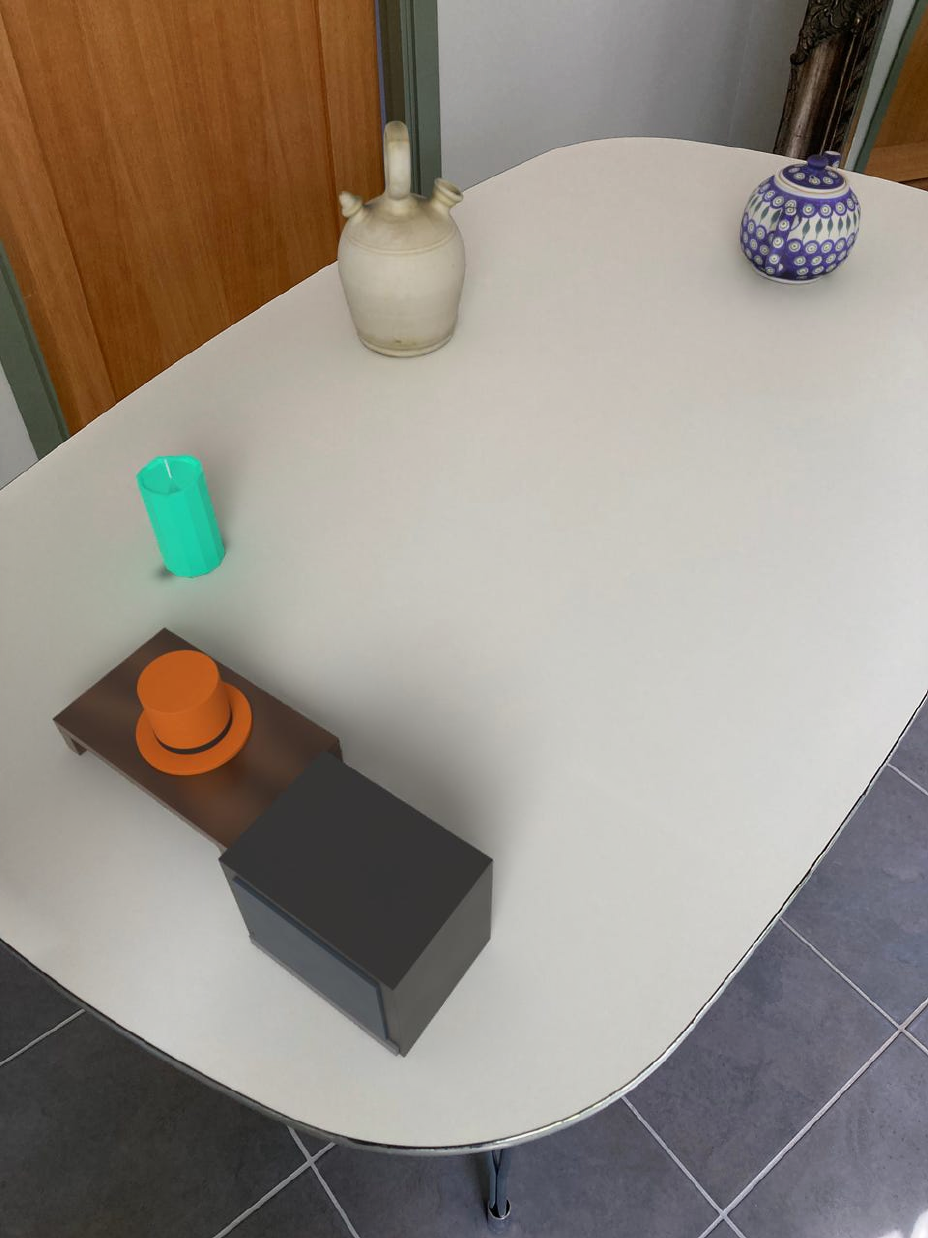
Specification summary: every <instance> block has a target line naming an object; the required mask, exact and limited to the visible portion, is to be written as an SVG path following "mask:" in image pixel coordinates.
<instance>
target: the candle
mask: <svg viewBox="0 0 928 1238" xmlns="http://www.w3.org/2000/svg"><path fill="white" fill-rule="evenodd" d="M135 477H136V482H137V486H138V490H139V493H140V495H141V498H142V502H143V505H144V507H145V510H146V513H147V516H148V519H149V522H150V524H151V527H152V531H153V533H154V537H155V540H156V543H157V545H158V548H159V551H160V553H161V557H162V560H163V563H164V566H165V568H166V569H167V570H168V571H169V572H171V573H173V575H175V576H178V577H185V578H195V577H199V576H202V575H203V576H204V575H207V574H210V572H212V571H213V570H214V569H216V568H217V567H219V566H220V565H221V563H222V562H223V559H224V558H225V555H226V551H225V547H224V543H223V540H222V539H223V538H222V536H221V532H220V528H219V524H218V521H217V518H216V514H215V509H214V507H213V506H214V505H213V502H212V499H211V495H210V491H209V488H208V484H207V480H206V477H205V473H204V470H203V466H202V463H201V460H200V459H198V458H196V457H195V456H193V455H191V454H178V455H162V456H161V455H160V456H155V457H154V458H153V459H152V460H150V461H149V462H148V463H147V464H146V465H144V466H143V467H142V468H141V469H140V470H139V471H138V472H137V473H136V474H135Z"/></svg>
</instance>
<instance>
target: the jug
mask: <svg viewBox="0 0 928 1238" xmlns="http://www.w3.org/2000/svg"><path fill="white" fill-rule="evenodd" d="M411 162H412V161H411V144H410V135H409V130H408V126H407V125H406V124H405V123H404V122H403V121H400V120H392V121H389V122H388V123H386V124H385V126H384V131H383V163H384V179H385V189H384V191H383V193H382V194H381V195H378V196H376V197H374V198H372V199H370V200H369V201H367V202H366V203H364V199H363V198H362V196H360V195H354V194H353V193H351V192H349V191H347V190H343V191H341V192H340V193H339V195H338V200H339V203H340V205H341V207H342V209H341V213H342V216H343V217H345V218H348V219H347V221H346V223H345V225H344V227H343V230H342V232H341V234H340V238H339V241H338V248H337V270H338V274H339V279H340V282H341V287H342V290H343V293H344V297H345V300H346V303H347V307H348V310H349V314H350V316H351V320H352V322H353V325H354V327H355V329H356V331H357V335H358V338H359V340H360V342H361V343H362V345H363V346H364V347H366V348H367V349H369V350H371V351H372V352H375V353H377V354H380V355H382V356H386V357H393V358H411V357H418V356H423V355H426V354H430V353H432V352H435V351H436V350H438V349H440V348H442V347H443V346H444V345H446V344H447V343H448V342H449V341H450V340H451V338H452V337H453V335H454V331H455V326H456V323H457V321H458V320H457V319H458V314H459V307H460V301H461V297H462V293H463V287H464V282H465V276H466V267H467V263H466V261H467V260H466V258H467V257H466V249H465V248H466V247H465V242H464V238H463V236H462V233H461V230H460V228H459V226H458V224H457V222H456V221H455V219H454V218H453V217H452V215H451V214H450V211H451V209H452V208H454V207H455V206H456V205H457V204H459V203H461V202H463V200H464V195H463V193H462V191H461V190H460V189H459V188H458V187H456V185H454V184H453V183H451V182H449V181H448V180H446V179H445V178H443V177H436V178H435V179H434V186H433V189H432V194H431V195H430V196H428V197H425V196H423V195H420V194H417V193H413V192H411V186H412V177H411V173H412V165H411Z"/></svg>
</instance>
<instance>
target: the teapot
mask: <svg viewBox="0 0 928 1238" xmlns="http://www.w3.org/2000/svg"><path fill="white" fill-rule="evenodd" d="M842 157H843V155H842V154H841V153H840V152H837V151H834V150H833V151H832V150H826V151H823V154H822V155H821V154H811V155H810V156H808V157H807V159H806V162H793V163H789V164H785V165H782V166H780V167H779V168H777V169H776V171H775V173H774V174H773V175H771V176H770V177H768V178H766V179H764V180H763V181H762V182H760V183H759V184H758V186H756V187H755V188H754V190H753V191H752V192H751V194H750V196H749V198H748V199H747V202H746V204H745V206H744V210H743V214H742V217H741V221H740V228H739V229H740V231H739V243H740V248H741V250H742V254H744V256H745V257H746V259H747V260H748V261H749V262H750V266H751V268H752V269H753V271H754V272H755V273H757V274H758V275H759V276H761V277H763V278H765V279H767V280H771V281H774V282H777V283H782V284H788V285H789V284H790V285H807V284H811V283H815V282H817V281H818V280H820V279H821V278H823V277H824V276H825V275H828V274H830V273H831V272H833V271H835V270H836V269H838V268H839V267H841V265H842V264H843V263H844V262H845V261H846V260H847V258H848V257H849V255H850V253H851V251H852V249H853V248H854V245H855V243H856V240H857V238H858V235H859V231H860V224H861V216H862V212H861V205H860V202H859V199H858V197H857V195H856V194H855V192H854V191H853V190H852V188H851V187H850V186H851V181H850V179H849V177H848V175H846V173H844V172H843V171H841V170H839V169H838V168H839V165H840V162H841V160H842Z"/></svg>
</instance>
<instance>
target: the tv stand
mask: <svg viewBox="0 0 928 1238" xmlns="http://www.w3.org/2000/svg"><path fill="white" fill-rule="evenodd" d="M179 650H192V651H197V652H200V653H203V654H205V655H207V656H208V657H210V658H211V659H212V660H213V661H214V663H215V664H216V666H217V668H218V671H219V674H220V678H221V681H223V682H226V683H228V684H230V685H232V686H234V687H235V688H237V689H238V690H239V691H240V692H241V693H242V694H243V695H244V696H245V697H246V699H247V701H248V703H249V705H250V708H251V712H252V727H251V731H250V734H249V737H248V739H247V741H246V742H245V744H244V745H243V747H242V748H241V749H240V751H239V752H238V753H237V754H236V755H235V756H233V757H232V758H231V759H230V760H229V761H227V762H226V763H224V764H223V765H221V766H219V767H217V768H215V769H212V770H210V771H207V772H204V773H199V774H194V775H175V774H170V773H166V772H163V771H161V770H158V769H157V768H155V767H153V766H152V765H151V764H149V763H148V762H147V761H146V760H145V758H144V757H143V756H142V754H141V752H140V750H139V747H138V745H137V740H136V728H137V724H138V721H139V718H140V716H141V714H142V712H143V711H144V708H143V706H142V703H141V701H140V699H139V696H138V692H137V684H138V680H139V677H140V675H141V673H142V672H143V670H144V669H145V668H146V667H147V666H148V665H149V664H150V663H151V662H152V661H154V660H155V659H157V658H158V657H160V656H162V655H164V654H167V653H170V652H174V651H179ZM52 721H53V723H54V725H55V726H56V728H57V730H58V731H59V734H60V735H61V737H62V739H63V741H64V742H65V745H66V746H67V748H69V749H71V750H72V751H73V752H74V753H76V754H77V755H78V756H82V755H83V754H84V753H85V752H86V751H88V752H90V754H92V755H94V756H95V757H96V758H98V759H99V760H100V761H102V762H103V763H105V764H106V765H107V766H108V767H110V768H111V769H113V770H114V771H115V772H117V773H118V774H119V775H120V776H122V777H123V778H124V779H126V780H127V781H129V782H130V783H131V784H133V785H134V786H135V787H137V788H138V789H139V790H140V791H142V792H143V793H145V794H146V795H147V796H149V797H150V798H151V799H153V800H154V801H155V802H157V803H158V804H160V806H162V807H164V808H165V809H166V810H167V811H169V812H170V813H172V814H173V815H174V816H175V817H177V818H178V819H179V820H181V821H182V822H184V823H185V824H186V825H188V826H189V827H190V828H192V829H193V830H194V831H195V832H197V833H198V834H200V835H201V836H202V837H204V838H205V839H207V840H208V841H209V842H210V843H212V844H213V845H215V847H217V848H218V850H219V853H220V856H221V855H222V854H223V853H224V852H225V851H226V850H227V849H228V848H229V847H230V846H231V845H232V844H233V843H234V842H235V841H236V840H237V839H238V838H239V837H240V836H241V835H242V834H243V833H244V832H245V831H246V830H247V829H248V827H249V826H250V825H251V824H252V823H253V822H254V821H255V820H256V819H257V818H258V817H259V816H260V815H261V814H262V813H263V812H264V811H265V810H266V809H267V808H268V807H269V806H270V805H271V804H272V803H273V802H274V801H275V800H276V799H277V798H278V797H279V796H280V795H281V794H282V792H283V791H284V790H285V789H286V788H287V787H288V786H289V785H290V784H291V783H292V782H293V781H294V780H295V779H296V778H297V777H298V776H299V775H300V774H301V773H302V772H303V771H304V770H305V769H306V768H307V767H308V766H309V765H310V764H311V763H312V762H313V761H314V760H315V759H316V757H317V756H318V755H319V754H320V753H321V752H322V751H323V750H325V751H327V752H328V753H330V754H331V755H333V756H334V757H336V758H338V759H339V760H341V761H342V762H344V761H345V760H344V756H343V750H342V747H341V746H342V745H341V739H340V737H338V736H336V735H335V734H334V733H332V732H330V731H329V730H327V729H326V728H324V727H322V726H321V725H319V724H317V722H314V721H312V720H311V719H310V718H308V717H307V716H305V715H303V714H301V712H299V711H297V710H296V709H294V708H292V707H291V706H289V705H288V704H286V703H285V702H283V701H282V700H280V699H278V698H276V697H275V696H273V694H270V693H269V692H268V691H266V690H264V689H262V688H261V687H259V686H258V685H256V684H255V683H253V682H252V681H250V680H249V679H248V678H245V677H244V676H242V675H240V674H239V673H238V672H236V671H235V670H233V669H232V668H230V667H228V666H226V665H225V664H223V663H222V662H220V661H219V660H217V659H215V658H214V657H212V656H211V655H209V654H208V653H206V652H205V651H202V650H201V649H200V648H198V647H196V646H195V645H193V644H192V643H191V642H189V641H188V640H185V639H184V638H183V637H181V636H179V635H178V634H176V633H174V632H173V631H172V630H170V629H168V628H167V627H162V629H161V630H159V631H158V632H157V633H155V634H154V635H153V636H151V638H149V639H148V640H147V641H146V642H144V643H143V644H142V645H141V646H139V647H138V648H137V649H135V651H134V652H132V653H131V654H130V655H128V656H127V657H126V658H125V659H124V660H122V661H121V662H120V663H119V664H117V665H116V666H115V667H114V668H112V670H110V671H109V672H108V673H107V674H105V675H104V676H103V677H101V679H98V681H97V682H96V683H94V684H93V685H92V686H90V687H89V688H88V689H86V691H84V692H83V693H82V694H81V695H80V696H79V697H77V698H75V699H74V700H73V701H72V702H71V703H70V704H68V705H67V706H66V707H65V708H63V709H62V710H61V711H60V712H59V713H57V714H56V715H55V716H54V717H53V718H52ZM344 763H345V762H344Z"/></svg>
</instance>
